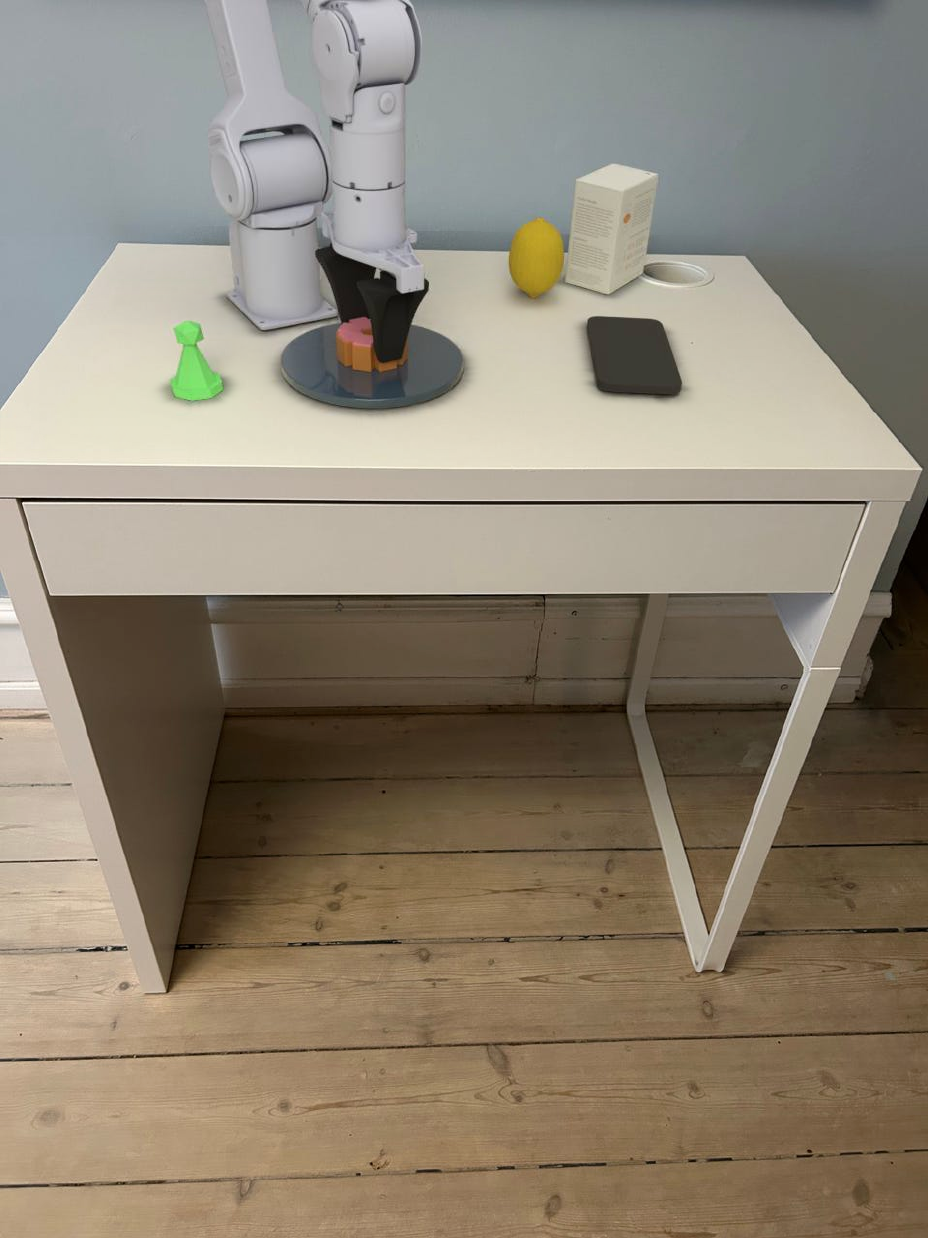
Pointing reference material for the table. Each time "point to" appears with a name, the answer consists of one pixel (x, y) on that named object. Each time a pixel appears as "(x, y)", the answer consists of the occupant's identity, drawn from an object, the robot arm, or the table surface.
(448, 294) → the table surface
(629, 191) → the small box
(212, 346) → the table surface
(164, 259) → the table surface
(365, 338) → the donut
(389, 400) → the plate
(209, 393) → the game piece
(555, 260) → the lemon
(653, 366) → the phone
